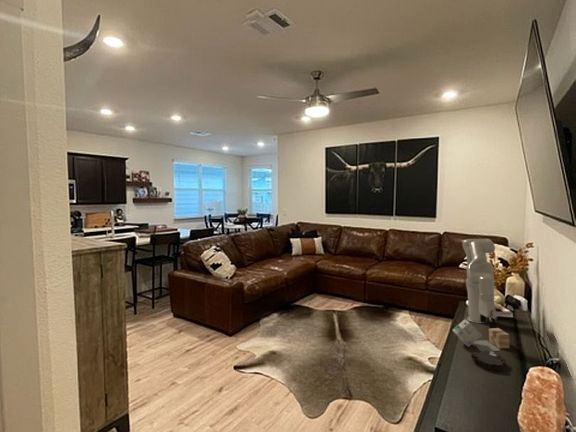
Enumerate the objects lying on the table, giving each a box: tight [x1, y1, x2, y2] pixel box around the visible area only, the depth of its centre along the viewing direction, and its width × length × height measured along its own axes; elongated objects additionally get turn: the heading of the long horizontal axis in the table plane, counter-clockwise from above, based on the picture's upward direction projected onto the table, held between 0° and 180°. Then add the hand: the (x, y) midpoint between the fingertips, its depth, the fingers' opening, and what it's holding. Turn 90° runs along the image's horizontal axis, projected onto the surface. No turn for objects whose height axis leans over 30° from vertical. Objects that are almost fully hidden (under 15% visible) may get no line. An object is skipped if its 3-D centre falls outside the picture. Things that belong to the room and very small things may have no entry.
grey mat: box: [472, 339, 501, 352], centre depth 194 cm, size 14×11×1 cm
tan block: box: [488, 327, 511, 349], centre depth 194 cm, size 10×6×8 cm, turn 178°
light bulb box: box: [452, 318, 483, 348], centre depth 196 cm, size 11×7×11 cm
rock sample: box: [470, 350, 507, 373], centre depth 173 cm, size 18×16×5 cm
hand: (488, 324), depth 194 cm, fingers open, 9 cm apart
